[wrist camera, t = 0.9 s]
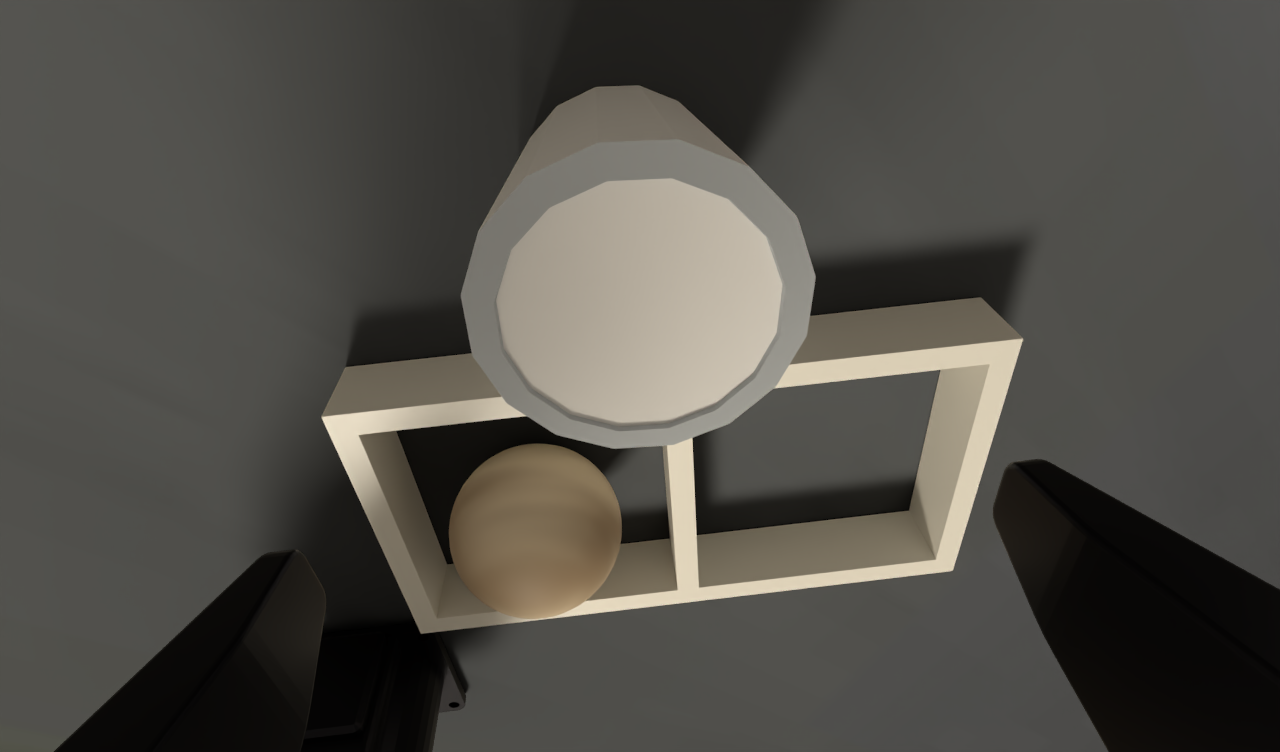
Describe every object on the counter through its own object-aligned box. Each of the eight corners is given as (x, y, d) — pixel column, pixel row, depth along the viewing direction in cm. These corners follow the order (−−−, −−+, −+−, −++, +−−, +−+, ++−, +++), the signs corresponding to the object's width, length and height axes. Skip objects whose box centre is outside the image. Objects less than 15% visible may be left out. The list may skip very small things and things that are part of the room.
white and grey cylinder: (785, 216, 19) (873, 347, 14) (596, 338, 21) (604, 498, 16) (654, -6, 16) (698, 47, 10) (441, 165, 18) (378, 289, 12)
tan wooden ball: (624, 514, 26) (634, 644, 22) (480, 530, 26) (460, 664, 21) (609, 400, 23) (617, 525, 18) (444, 419, 23) (412, 549, 18)
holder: (924, 521, 28) (952, 570, 26) (432, 579, 27) (421, 633, 25) (980, 297, 22) (1023, 338, 20) (345, 367, 21) (321, 416, 19)
